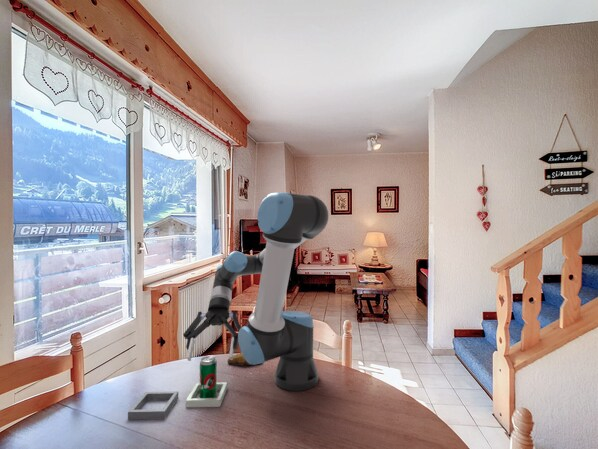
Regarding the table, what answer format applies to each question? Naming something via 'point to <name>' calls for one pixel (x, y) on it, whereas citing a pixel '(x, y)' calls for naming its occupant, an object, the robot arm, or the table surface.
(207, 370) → the soda can
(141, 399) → the socket upper
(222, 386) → the socket lower
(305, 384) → the robot arm
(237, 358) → the croissant
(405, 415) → the table surface
